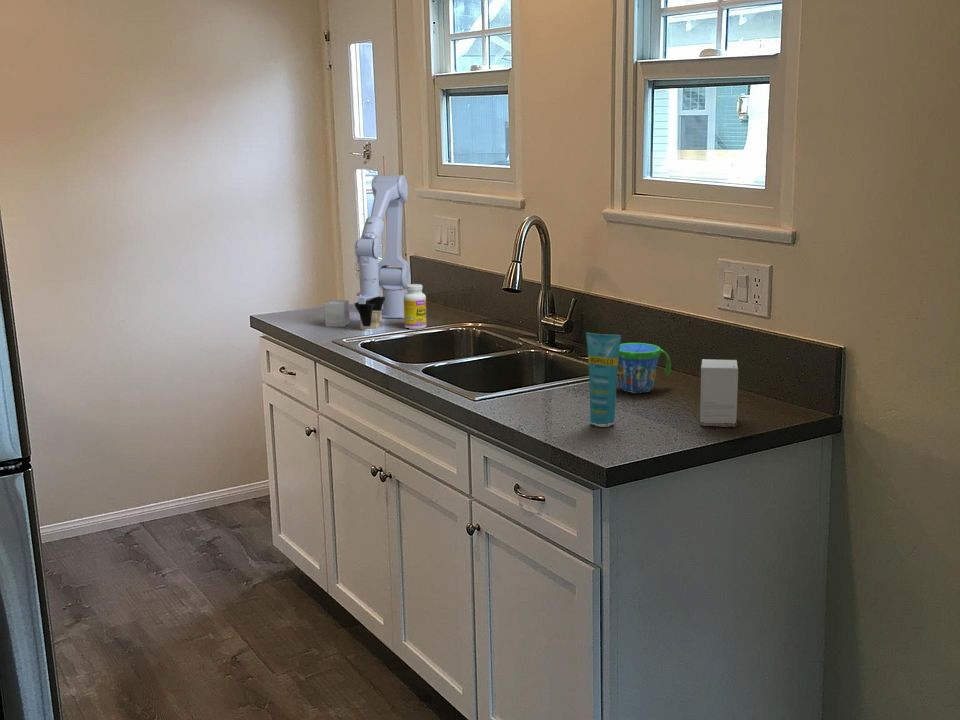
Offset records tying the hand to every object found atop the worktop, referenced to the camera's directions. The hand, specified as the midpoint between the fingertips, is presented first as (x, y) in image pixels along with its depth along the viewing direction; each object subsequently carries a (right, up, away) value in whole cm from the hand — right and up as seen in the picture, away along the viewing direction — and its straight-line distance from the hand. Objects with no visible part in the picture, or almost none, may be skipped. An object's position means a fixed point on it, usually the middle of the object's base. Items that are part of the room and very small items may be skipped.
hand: (371, 323), depth 315 cm
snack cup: (+69, -18, -73) cm, 102 cm away
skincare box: (-11, -1, +6) cm, 12 cm away
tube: (+58, -24, -98) cm, 117 cm away
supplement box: (+82, -24, -98) cm, 130 cm away
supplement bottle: (+13, -1, 0) cm, 13 cm away
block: (0, -1, 0) cm, 2 cm away
